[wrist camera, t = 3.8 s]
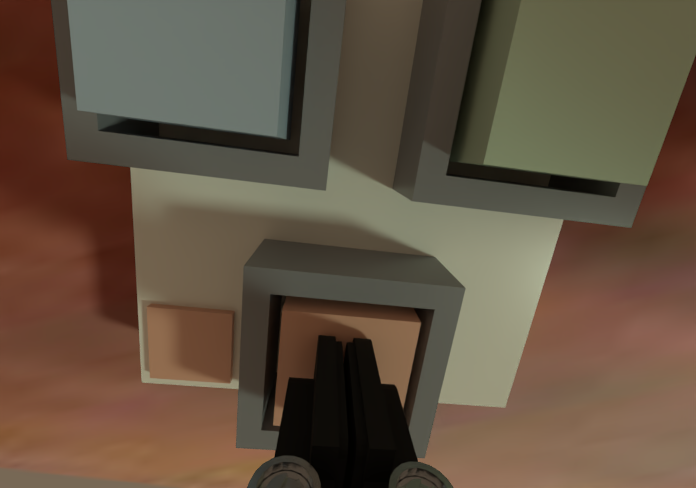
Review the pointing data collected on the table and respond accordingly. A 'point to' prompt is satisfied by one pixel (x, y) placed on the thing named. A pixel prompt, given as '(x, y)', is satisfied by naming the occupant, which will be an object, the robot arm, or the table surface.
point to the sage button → (574, 86)
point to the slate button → (188, 62)
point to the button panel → (339, 215)
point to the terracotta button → (345, 339)
